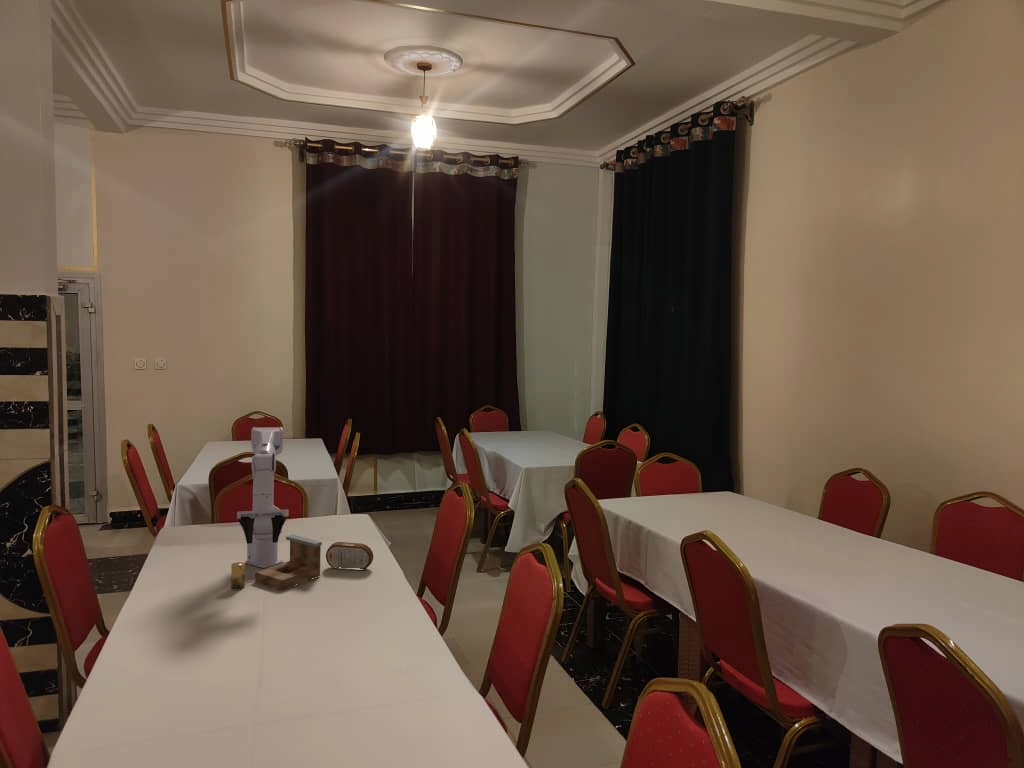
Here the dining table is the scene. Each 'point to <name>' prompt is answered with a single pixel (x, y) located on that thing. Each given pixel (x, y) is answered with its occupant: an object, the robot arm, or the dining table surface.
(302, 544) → the socket block
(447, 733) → the dining table surface
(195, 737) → the dining table surface
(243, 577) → the peg
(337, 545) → the tin
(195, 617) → the dining table surface
